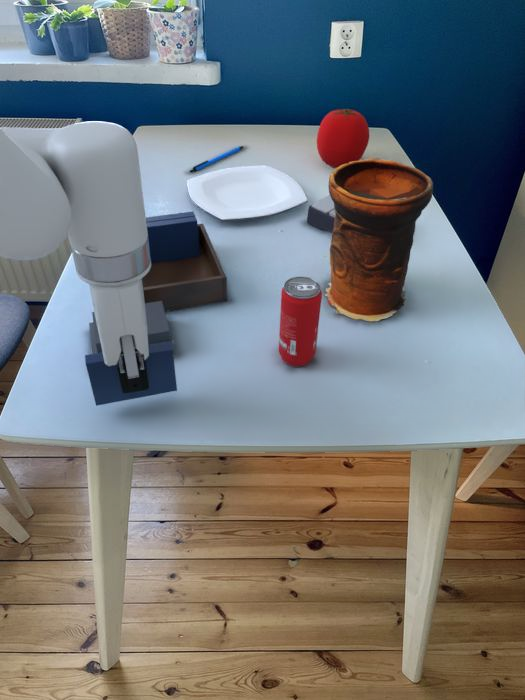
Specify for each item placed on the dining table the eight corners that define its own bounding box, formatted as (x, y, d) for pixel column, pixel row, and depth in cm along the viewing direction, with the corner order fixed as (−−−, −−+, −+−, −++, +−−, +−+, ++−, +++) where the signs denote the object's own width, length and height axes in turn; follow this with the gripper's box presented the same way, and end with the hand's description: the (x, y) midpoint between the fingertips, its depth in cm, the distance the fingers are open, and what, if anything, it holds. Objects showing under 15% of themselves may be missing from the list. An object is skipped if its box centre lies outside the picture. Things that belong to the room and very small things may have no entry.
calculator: (374, 234, 95) (307, 202, 102) (369, 254, 98) (305, 223, 105) (406, 212, 101) (341, 184, 108) (401, 232, 104) (338, 203, 111)
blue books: (142, 265, 92) (136, 228, 87) (140, 254, 95) (134, 218, 90) (200, 256, 94) (197, 220, 90) (196, 246, 97) (193, 211, 92)
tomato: (333, 179, 120) (339, 121, 112) (304, 160, 128) (308, 104, 119) (376, 168, 125) (386, 112, 116) (347, 151, 132) (353, 96, 124)
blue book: (96, 405, 66) (85, 364, 61) (95, 396, 67) (84, 354, 63) (177, 390, 68) (172, 349, 64) (175, 382, 70) (170, 341, 65)
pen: (189, 173, 122) (188, 168, 121) (242, 147, 133) (241, 143, 132) (191, 174, 121) (191, 169, 121) (244, 148, 133) (244, 144, 132)
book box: (142, 315, 83) (138, 290, 80) (130, 256, 95) (126, 233, 92) (227, 301, 86) (226, 277, 83) (204, 246, 98) (203, 223, 95)
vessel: (303, 279, 91) (312, 163, 77) (377, 264, 94) (398, 151, 81) (341, 331, 81) (360, 208, 67) (423, 312, 84) (456, 192, 71)
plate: (321, 211, 109) (322, 202, 107) (215, 235, 101) (215, 226, 100) (270, 168, 124) (270, 159, 123) (174, 186, 116) (173, 177, 115)
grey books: (95, 369, 74) (89, 347, 71) (91, 333, 79) (86, 311, 77) (174, 354, 76) (172, 333, 74) (166, 320, 82) (163, 299, 79)
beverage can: (276, 345, 78) (279, 276, 70) (311, 343, 78) (318, 274, 70) (280, 369, 74) (284, 299, 66) (317, 368, 75) (325, 298, 67)
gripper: (71, 221, 59) (99, 348, 71) (76, 304, 48) (109, 437, 60) (140, 214, 61) (155, 338, 73) (161, 292, 50) (175, 424, 62)
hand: (134, 382), depth 66 cm, fingers closed on blue book, 1 cm apart
